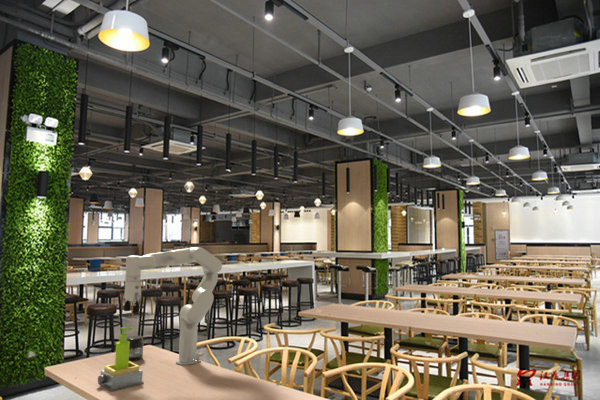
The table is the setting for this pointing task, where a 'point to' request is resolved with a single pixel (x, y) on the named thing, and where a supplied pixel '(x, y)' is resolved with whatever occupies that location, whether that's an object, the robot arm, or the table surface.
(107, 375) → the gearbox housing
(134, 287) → the robot arm
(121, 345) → the soap dispenser
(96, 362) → the table surface
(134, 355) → the supplement container
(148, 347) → the table surface
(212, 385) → the table surface
